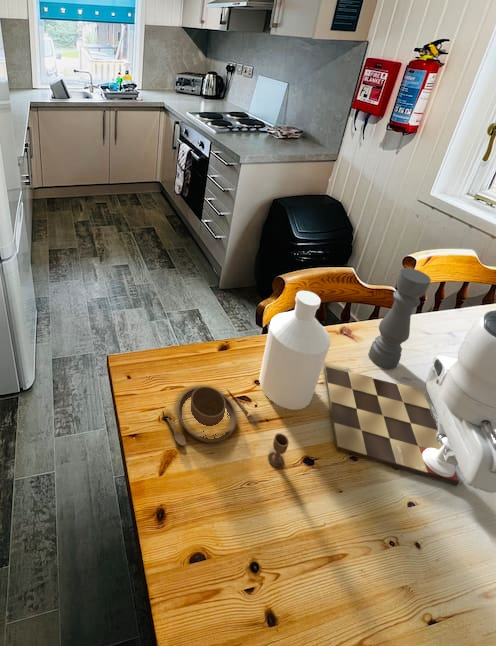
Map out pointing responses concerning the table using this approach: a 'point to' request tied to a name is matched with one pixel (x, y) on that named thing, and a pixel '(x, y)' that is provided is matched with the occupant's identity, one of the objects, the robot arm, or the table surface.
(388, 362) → the candle holder
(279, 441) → the place setting
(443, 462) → the chess piece
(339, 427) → the board
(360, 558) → the table surface
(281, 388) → the bottle
